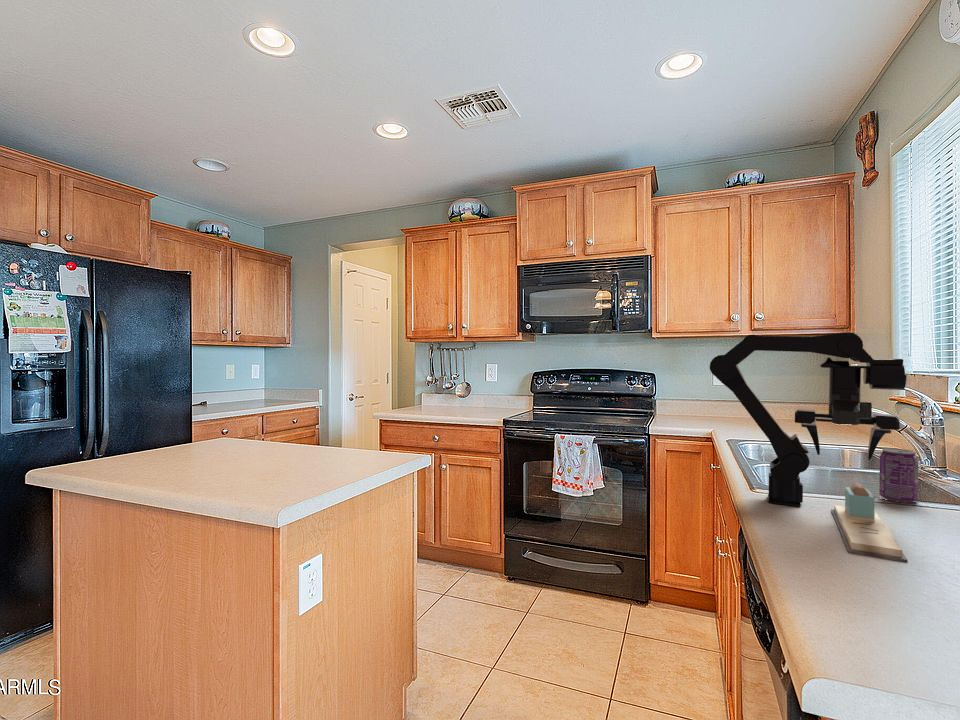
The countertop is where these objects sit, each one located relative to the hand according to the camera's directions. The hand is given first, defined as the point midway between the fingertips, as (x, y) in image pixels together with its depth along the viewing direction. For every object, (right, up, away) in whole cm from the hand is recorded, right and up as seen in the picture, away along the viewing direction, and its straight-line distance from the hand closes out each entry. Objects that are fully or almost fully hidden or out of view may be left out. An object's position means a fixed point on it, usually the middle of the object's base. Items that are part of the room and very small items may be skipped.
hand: (843, 457), depth 111 cm
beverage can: (+19, -12, +8) cm, 24 cm away
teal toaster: (-4, -10, -9) cm, 14 cm away
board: (-7, -12, -14) cm, 20 cm away
